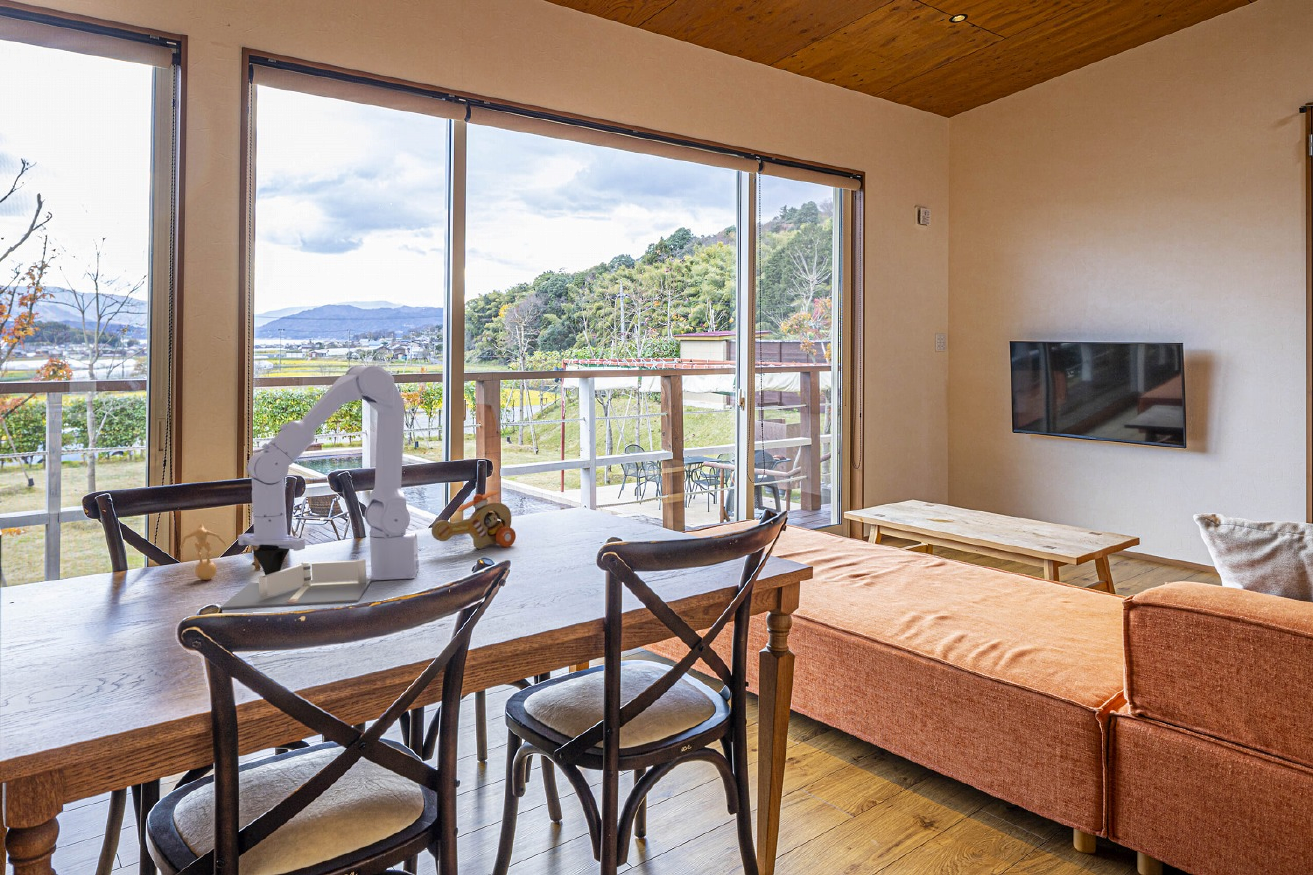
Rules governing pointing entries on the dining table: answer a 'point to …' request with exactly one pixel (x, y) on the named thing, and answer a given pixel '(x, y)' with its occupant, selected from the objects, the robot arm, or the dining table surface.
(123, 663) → the dining table surface
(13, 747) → the dining table surface
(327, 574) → the fixed fence section
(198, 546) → the figurine
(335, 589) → the board
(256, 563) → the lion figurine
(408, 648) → the dining table surface
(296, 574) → the hinged fence panel
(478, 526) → the toy helicopter
